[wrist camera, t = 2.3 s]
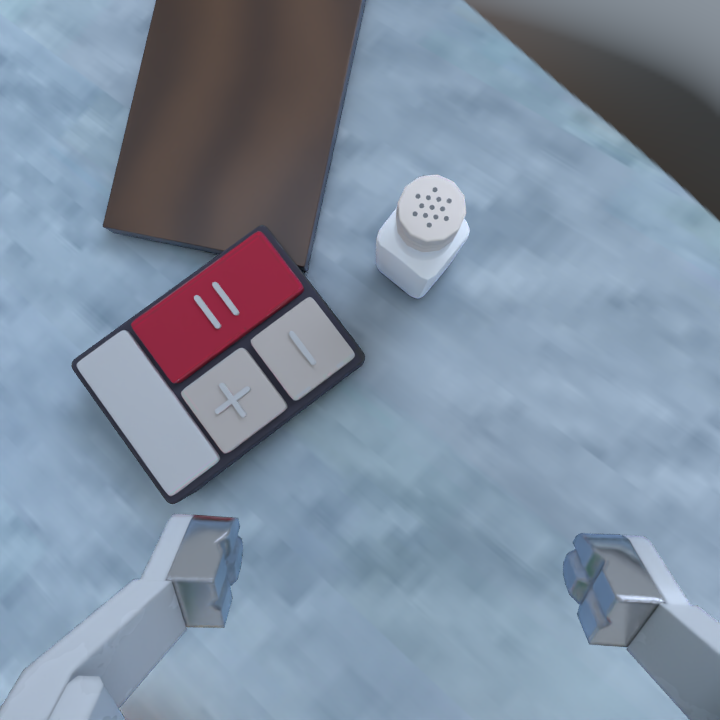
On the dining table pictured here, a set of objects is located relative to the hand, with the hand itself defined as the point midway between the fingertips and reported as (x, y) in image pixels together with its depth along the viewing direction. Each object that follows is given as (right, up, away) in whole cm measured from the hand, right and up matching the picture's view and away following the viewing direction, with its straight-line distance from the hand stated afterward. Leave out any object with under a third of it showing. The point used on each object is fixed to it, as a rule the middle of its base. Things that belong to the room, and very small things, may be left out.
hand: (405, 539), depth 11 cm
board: (-10, +22, +20) cm, 31 cm away
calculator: (-10, +4, +20) cm, 22 cm away
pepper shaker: (+3, +11, +19) cm, 22 cm away
